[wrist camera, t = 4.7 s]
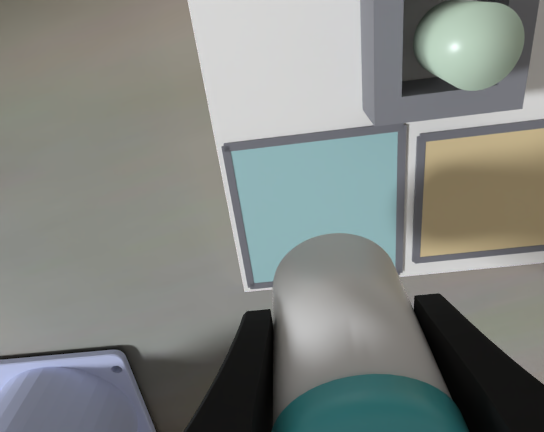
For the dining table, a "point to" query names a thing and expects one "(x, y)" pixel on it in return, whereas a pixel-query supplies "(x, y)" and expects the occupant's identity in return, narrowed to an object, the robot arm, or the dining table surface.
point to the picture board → (369, 136)
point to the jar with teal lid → (351, 345)
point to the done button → (469, 42)
